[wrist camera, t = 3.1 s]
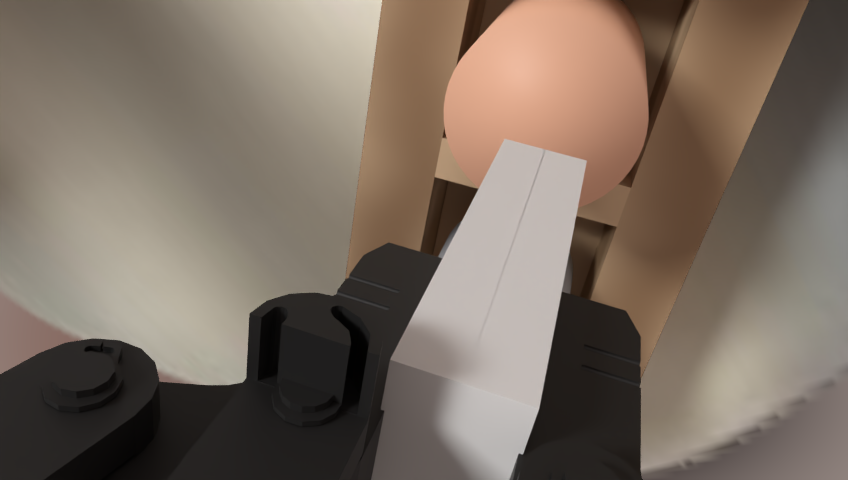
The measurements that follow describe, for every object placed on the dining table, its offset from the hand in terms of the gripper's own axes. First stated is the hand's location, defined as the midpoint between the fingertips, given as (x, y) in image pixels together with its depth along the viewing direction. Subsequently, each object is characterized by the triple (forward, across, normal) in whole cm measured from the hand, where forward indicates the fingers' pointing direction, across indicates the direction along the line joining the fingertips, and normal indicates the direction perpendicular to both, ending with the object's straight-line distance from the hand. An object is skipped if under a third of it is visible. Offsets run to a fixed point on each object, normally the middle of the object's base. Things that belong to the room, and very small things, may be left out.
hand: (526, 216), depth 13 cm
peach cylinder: (+11, 0, 0) cm, 11 cm away
